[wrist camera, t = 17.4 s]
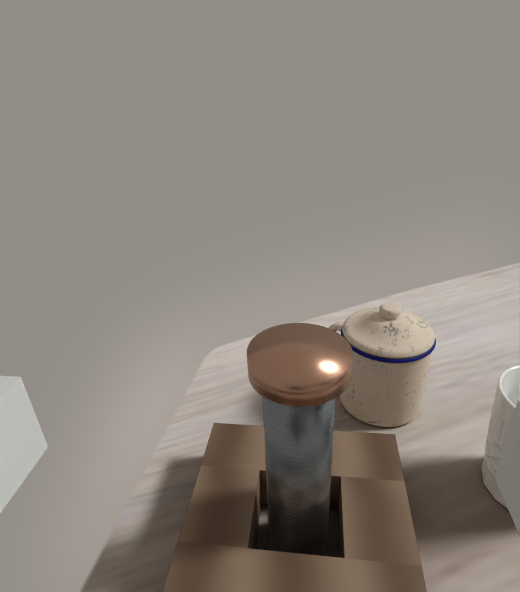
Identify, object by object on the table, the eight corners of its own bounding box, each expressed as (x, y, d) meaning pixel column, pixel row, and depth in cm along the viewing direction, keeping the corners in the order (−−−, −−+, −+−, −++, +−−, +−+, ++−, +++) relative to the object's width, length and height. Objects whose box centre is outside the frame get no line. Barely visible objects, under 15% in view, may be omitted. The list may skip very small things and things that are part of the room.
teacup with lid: (440, 400, 46) (458, 306, 41) (391, 445, 41) (406, 344, 36) (350, 354, 55) (356, 270, 49) (300, 387, 49) (301, 297, 44)
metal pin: (336, 512, 35) (349, 324, 27) (339, 590, 30) (356, 387, 22) (263, 506, 36) (254, 321, 28) (253, 581, 31) (238, 380, 22)
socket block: (390, 467, 39) (395, 434, 37) (429, 690, 25) (439, 656, 23) (217, 454, 41) (213, 422, 39) (163, 654, 27) (154, 620, 25)
